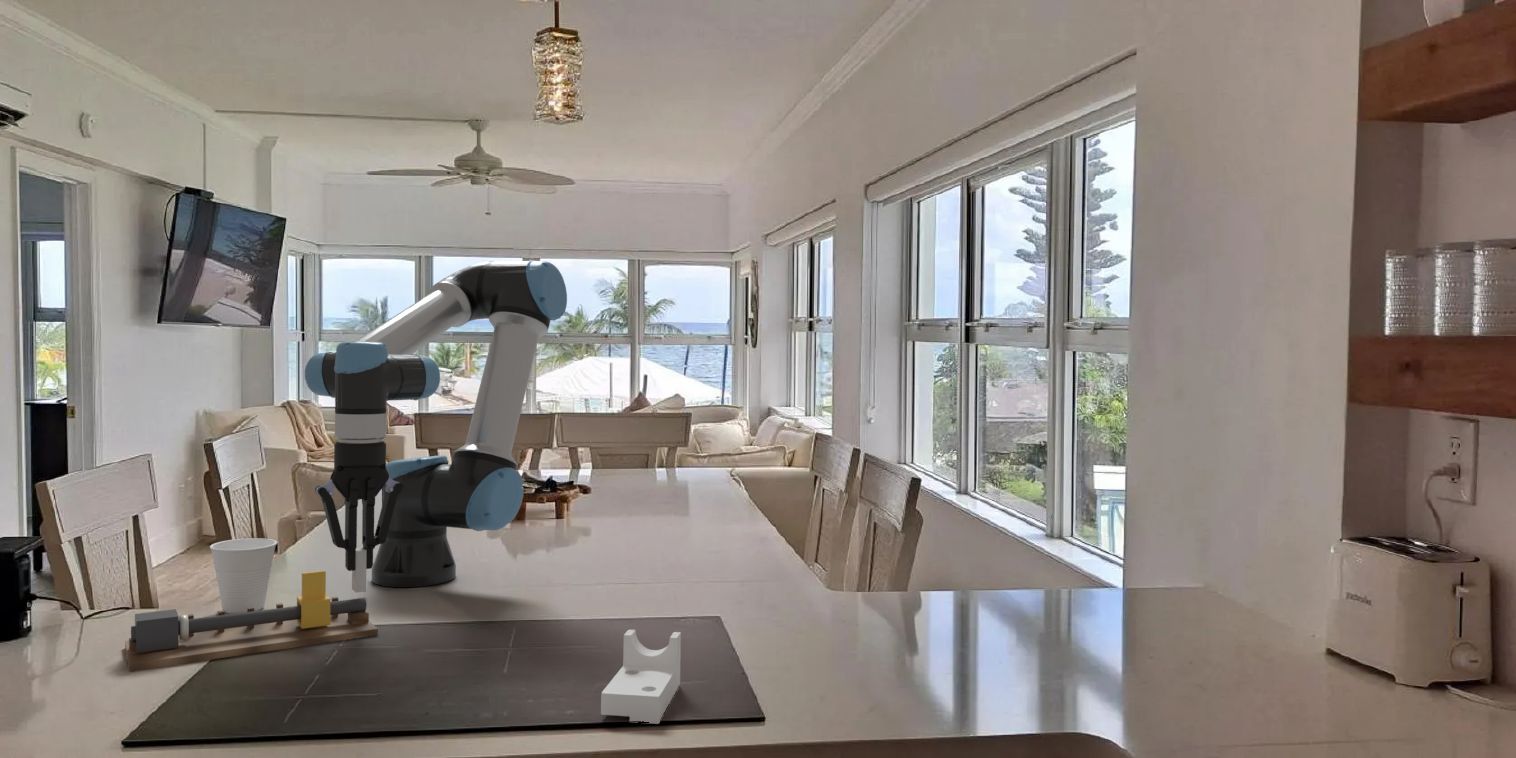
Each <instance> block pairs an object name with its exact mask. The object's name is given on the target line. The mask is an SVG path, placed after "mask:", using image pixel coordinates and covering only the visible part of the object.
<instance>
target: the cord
mask: <svg viewBox="0 0 1516 758" xmlns="http://www.w3.org/2000/svg"><path fill="white" fill-rule="evenodd" d="M365 610H366V611H367V599H366V597H361V598H360V597H359V598H351V599H343V600H338V601H334V602H332V601H330V615H336V614H343V613H351V612H359V611H365ZM297 619H301V606H297V605H294V606H288V607H283V608H277V609H276V608H270V609H261V610H259V611H253V612H245V613H237V614H229V613H228V614H224V615H220V616H218V615H213V616H206V617H204V616H203V617H198V618H194V619H188V620H189V634H190V633H198V632H205V631H213V630H221V629H228V628H236V627H244V626H251V625H259V624H267V623H274V622H282V621H290V620H297ZM178 635H180V621H179V631H178ZM130 638H131V641H136V626H135V625H134V626H133V625H132V626H131V627H130Z"/></svg>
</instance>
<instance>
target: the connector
mask: <svg viewBox="0 0 1516 758" xmlns="http://www.w3.org/2000/svg"><path fill="white" fill-rule="evenodd" d="M188 615H189V614H183V615H182V614H181V615H179V614H178V611H177V609H175V608H173V609H166V610H158V611H150V612H149V611H148V612H141V613H135V614H134V626H136V653H141V652H148V651H155V650H163V649H170V648H177V647H178V631H179V621H180V635H179V639H180V640H183V639H188V637H189V620H188Z"/></svg>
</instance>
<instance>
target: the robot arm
mask: <svg viewBox="0 0 1516 758" xmlns="http://www.w3.org/2000/svg"><path fill="white" fill-rule="evenodd" d="M567 304H568V293H567V287H566V283H565V280H564V277H563V275H562V273H561V271H560V270H559V269H558V267H557V266H555V264H553V263H551V262H549V261H543V260H542V261H541V260H534V259H528V260H519V261H517V260H516V261H515V260H514V261H513V260H510V261H509V260H508V261H506V260H504V261H501V260H499V261H498V260H497V261H495V260H490V261H489V260H487V261H486V260H485V261H481V262H477V263H474V264H471V265H468V266H466V267H464V268H462V269H460V270H457V271H456V272H453V273H451V274H450V275H448V276H446V277H444V278H442V279H441V280H439V281H438V282H436V283H435V284H434V285H432V286H431V287H430V289H429V290H428V294H427V295H426V296H424V297H422V298H421V299H420V300H417V302H414V303H413V304H411V305H410V306H408V307H407V308H404V309H403V310H401V312H399V313H398V314H396V315H394V316H393V317H391V318H389V319H388V320H386V321H384V322H383V323H382V324H380V325H378V326H377V327H375V328H374V329H372V330H370V331H369V332H368V333H366V334H364V335H363V336H361V337H360V338H358V339H356V340H355V341H341V342H340V343H339V344H337V346H336V351H335V352H332V351H325V352H319V353H318V352H317V353H315V354H314V355H312V356H311V357H310V358H309V359H308V361H307V363H306V365H305V368H304V380H305V383H306V385H307V388H308V390H310V392H312V393H313V394H315V395H317V396H322V397H330V398H332V399H334V404H335V405H334V437H333V438H335V439H337V440H338V441H336V442H335V443H334V450H333V453H334V455H333V456H334V459H333V461H334V462H333V471H332V473H331V475H330V477H329V478H330V480H328V481H326V482H325V483H324V484H322V485H318V486H316V487H315V488H314V491H315V493H316V494H317V496H318V497H319V498H320V500H321V501H322V505H323V510H324V514H325V516H326V517H325V518H326V520H327V525H328V529H329V532H330V537H331V542H332V544H333V545H334V546H336V548H339V549H344V551H345V566H344V567H345V569H346V570H347V571H348V572H351V589H352V590H353V591H354V592H355V593H362V592H363V593H365V592H367V570H370V569H371V582H372V583H373V584H375V585H378V586H382V587H392V588H394V587H395V588H412V587H413V588H416V587H417V588H418V587H427V586H432V585H438V584H443V583H446V582H449V581H451V580H452V581H453V579H454V578H456V577H457V574H456V573H457V571H456V570H457V569H456V568H457V564H456V561H455V559H454V556H453V552H452V549H451V545H450V543H449V540H448V536H447V535H448V534H447V533H448V532H447V531H448V529H447V528H455V529H465V530H466V529H467V530H472V531H476V532H483V531H493V532H494V531H498V530H501V529H503V528H505V527H506V526H507V525H508V524H510V523H511V522H512V521H513V520H514V519H515V517H516V516H517V514H518V512H519V510H520V509H521V505H522V503H523V499H524V494H525V493H524V492H525V491H524V487H523V485H524V480H523V478H522V476H521V474H520V472H519V471H518V470H517V467H518V462H517V461H516V460H515V458H514V456H513V454H512V451H513V447H514V444H515V443H514V442H515V439H516V435H517V430H518V426H519V421H520V417H521V414H522V413H521V412H522V409H523V404H524V400H525V396H526V392H527V388H528V383H529V379H530V375H531V371H532V366H533V362H534V357H535V353H536V350H537V349H536V348H537V345H538V340H539V339H540V338H543V337H544V336H546V335H547V334H548V331H549V328H550V326H551V325H550V324H551V321H557V320H560V319H561V317H563V316H564V315H565V313H566V309H567ZM485 319H487V320H489V323H490V324H491V325H492V327H493V332H492V336H491V339H490V345H489V349H488V352H487V356H486V360H485V364H484V368H483V372H482V376H481V380H480V385H479V388H478V393H477V396H476V401H475V404H474V408H473V412H472V416H471V420H470V424H469V429H468V433H467V435H466V440H465V443H464V444H463V446H461V447H459V448H457V449H456V450H454V453H453V458H452V460H451V461H452V462H451V464H449V460H448V457H447V456H446V455H442V454H441V455H433V456H422V457H413V458H404V459H398V460H392V461H389V462H387V443H386V441H384V440H383V439H385V438H387V406H388V405H387V403H388V402H389V401H408V400H410V401H419V400H423V399H426V398H429V397H431V396H433V395H434V394H435V392H436V391H437V390H438V389H439V387H440V383H441V371H440V368H439V366H438V364H437V363H436V361H434V359H433V358H431V357H430V356H427V355H422V354H421V355H420V354H417V352H418V351H419V350H421V349H422V348H423V347H425V346H427V345H428V344H429V343H431V342H432V341H434V340H435V339H436V338H438V337H439V336H441V335H442V334H444V333H445V332H446V331H448V330H449V329H451V328H459V327H462V326H464V325H466V324H467V323H469V322H471V321H472V322H473V321H475V320H485ZM415 353H416V354H415ZM334 488H335V489H336V490H337V491H338V493H339V494H340V495H341V496H342V497H343V498H344V505H345V506H344V507H345V509H344V512H345V513H344V514H345V515H344V516H345V517H344V537H343V532H342V528H341V525H340V520H339V517H338V513H337V508H336V504H335V500H334V499H333V496H334V495H335V491H334ZM380 492H381V508H380V513H379V517H378V521H377V525H376V529H375V505H376V497H377V496H378V495H379V493H380ZM359 500H361V504H362V513H361V514H362V518H361V519H362V521H361V522H362V525H361V527H362V531H361V532H362V533H361V536H362V537H361V539H362V540H361V541H362V542H361V543H362V546H359V547H357V543H358V542H357V541H358V535H357V534H358V531H357V530H358V505H359ZM378 545H379V547H378V549H377V553H376V556H375V559H374V549H375V548H376V546H378Z"/></svg>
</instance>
